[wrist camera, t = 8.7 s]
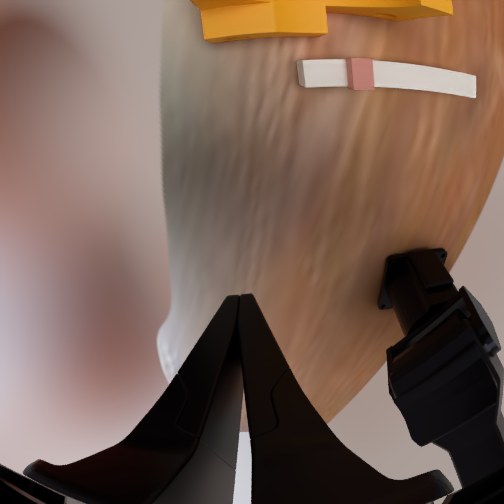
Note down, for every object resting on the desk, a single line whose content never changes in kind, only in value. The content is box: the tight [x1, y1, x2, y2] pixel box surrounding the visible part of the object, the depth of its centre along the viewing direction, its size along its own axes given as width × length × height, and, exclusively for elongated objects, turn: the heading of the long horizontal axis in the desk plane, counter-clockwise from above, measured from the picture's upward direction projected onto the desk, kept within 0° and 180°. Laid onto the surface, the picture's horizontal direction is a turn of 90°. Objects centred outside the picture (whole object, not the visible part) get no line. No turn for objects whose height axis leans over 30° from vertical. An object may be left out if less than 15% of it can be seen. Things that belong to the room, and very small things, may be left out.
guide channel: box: [296, 58, 476, 98], centre depth 11 cm, size 9×12×3 cm
